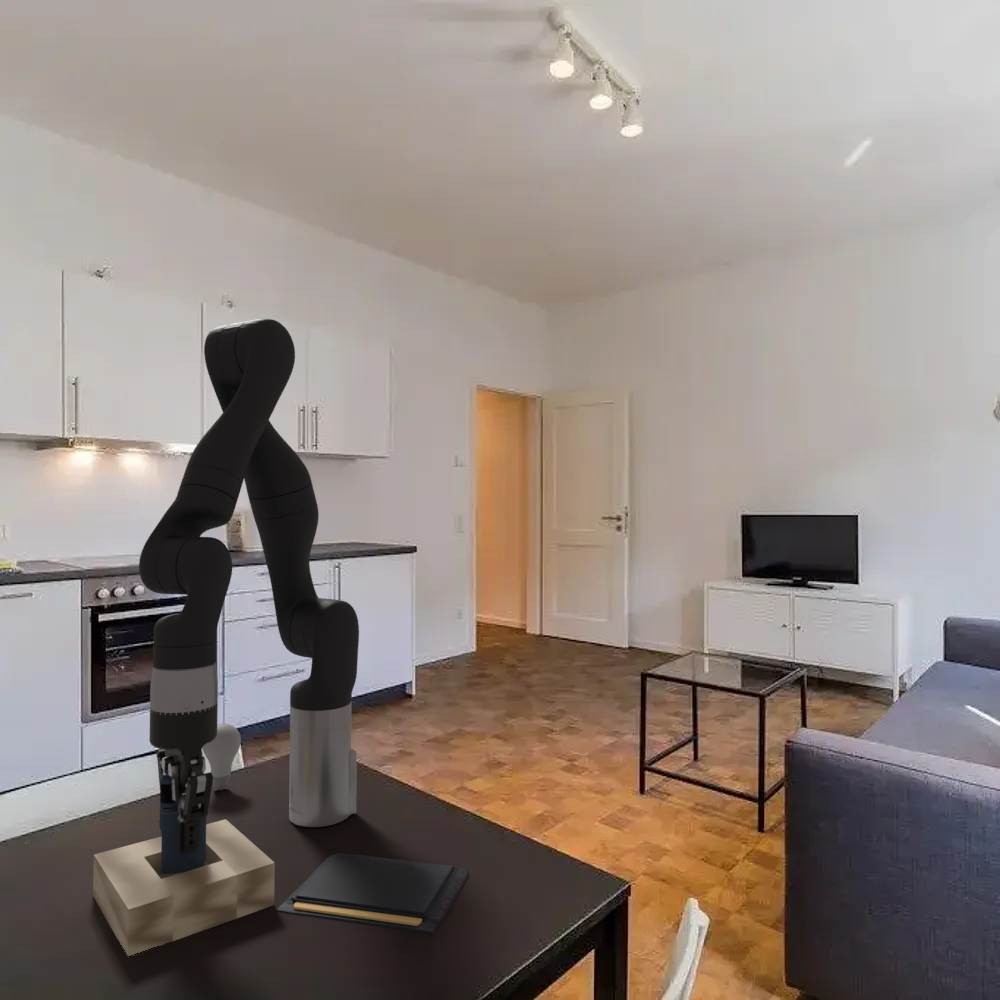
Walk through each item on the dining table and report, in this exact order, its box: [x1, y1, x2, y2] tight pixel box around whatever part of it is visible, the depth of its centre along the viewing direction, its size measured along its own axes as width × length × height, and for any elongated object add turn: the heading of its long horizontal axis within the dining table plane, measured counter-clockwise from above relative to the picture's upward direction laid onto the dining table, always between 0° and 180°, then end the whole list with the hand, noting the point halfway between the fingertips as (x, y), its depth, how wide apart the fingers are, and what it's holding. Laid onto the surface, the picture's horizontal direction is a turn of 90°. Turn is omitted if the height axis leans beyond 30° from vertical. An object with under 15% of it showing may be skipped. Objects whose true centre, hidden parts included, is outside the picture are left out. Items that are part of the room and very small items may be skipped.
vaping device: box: [158, 769, 207, 874], centre depth 89 cm, size 3×5×12 cm, turn 100°
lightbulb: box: [202, 723, 242, 791], centre depth 123 cm, size 6×6×11 cm
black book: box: [275, 852, 470, 935], centre depth 91 cm, size 20×2×15 cm
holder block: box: [92, 819, 276, 957], centre depth 89 cm, size 16×16×5 cm
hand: (182, 844), depth 89 cm, fingers closed on vaping device, 3 cm apart
